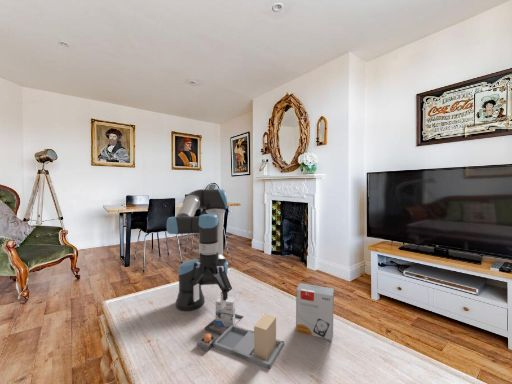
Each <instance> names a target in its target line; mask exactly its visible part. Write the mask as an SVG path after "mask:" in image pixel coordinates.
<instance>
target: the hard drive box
mask: <svg viewBox="0 0 512 384" xmlns="http://www.w3.org/2000/svg"><path fill="white" fill-rule="evenodd" d="M295 294H296V297H295V299H296V300H295V301H296V303H295V304H296V305H295V306H296V307H295V332H297V333H299V334H300V333H301V334H306V335H309V336H314V337H317V338H322V339H327V341H328V342H333V336H334V310H335V309H334V304H335V303H334V302H335V301H334V299H335V298H334V297H335V288H332V287H326V286H319V285H313V284H306V283H301V282H299V283H298V285H297V287H296V293H295Z"/></svg>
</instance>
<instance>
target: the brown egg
mask: <svg viewBox="0 0 512 384" xmlns="http://www.w3.org/2000/svg"><path fill="white" fill-rule="evenodd" d="M203 335H204V342H206V343H209V342H210V341H211V335H212V333H209V334H206V333H205V334H203Z"/></svg>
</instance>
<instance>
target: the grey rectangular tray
mask: <svg viewBox="0 0 512 384" xmlns="http://www.w3.org/2000/svg"><path fill="white" fill-rule="evenodd" d="M284 346H285V341H284V340H282V339H278V338H276V348H275V349H274V351H273V353H272V354H271V356H270V357H269V359H268V360H267V361H264V360H261V359H259V358H256V357H254V330H251V329H247V328H245V327H241V326H238V325H235V324H234V325H231V326H230V327H227V329H226V330H224V332H223V334H222V335H219V337H218V339H217V340H216V341H214V342H213V347H212V348H215V349H217V350H220V351H222V352H225V353H227V354H230V355H233V356H235V357H237V358H240V359H242V360H245V361H248V362H251V363H252V364H256V365H257V366H260V367H263V368H266V369H268V370H271V368H272V367H273V364H274V363H275V362H276V360H277V358H278V356H279V355H280V354H281V351H282V350H283V348H284Z"/></svg>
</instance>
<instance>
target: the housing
mask: <svg viewBox="0 0 512 384" xmlns="http://www.w3.org/2000/svg"><path fill="white" fill-rule="evenodd" d="M205 334H210V333H208V332H205ZM205 334H203V335H202V336H201V337H200V338H199V339H197V341H196V347H197V348H198V349H200V348H201V350H204V351H206V352H209V351H210V350H211V349H212V348H214V347H213V342H214V341H216V340H217V339H218V338H219V337H218V336H217V335H214V334H211V341H210V342H209V343H206V342H204V335H205Z"/></svg>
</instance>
